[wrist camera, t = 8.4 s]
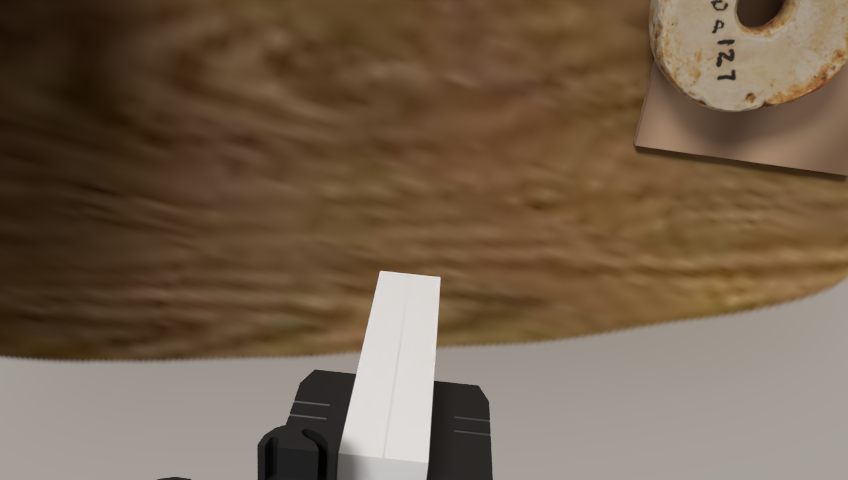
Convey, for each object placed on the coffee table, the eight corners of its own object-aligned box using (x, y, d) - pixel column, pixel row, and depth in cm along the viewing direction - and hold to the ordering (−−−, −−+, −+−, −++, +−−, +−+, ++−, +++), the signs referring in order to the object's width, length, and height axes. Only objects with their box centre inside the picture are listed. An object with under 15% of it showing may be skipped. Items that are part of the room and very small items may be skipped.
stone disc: (639, 106, 40) (825, 88, 40) (657, 125, 37) (861, 106, 36) (644, -102, 36) (854, -126, 35) (665, -101, 32) (897, -128, 32)
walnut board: (633, 142, 42) (635, 145, 41) (702, -131, 36) (705, -131, 35) (842, 172, 41) (848, 175, 41) (946, -98, 36) (953, -98, 35)
